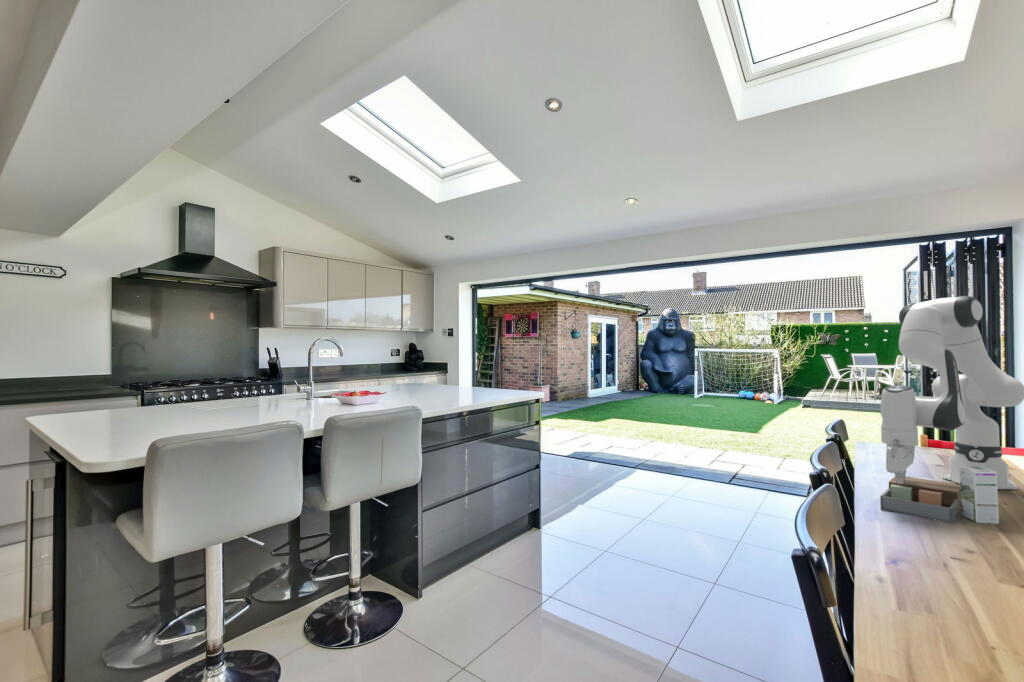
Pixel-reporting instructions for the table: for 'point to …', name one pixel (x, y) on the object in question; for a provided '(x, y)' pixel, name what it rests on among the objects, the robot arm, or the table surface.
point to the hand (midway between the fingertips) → (900, 482)
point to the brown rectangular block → (932, 489)
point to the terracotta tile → (930, 497)
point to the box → (919, 508)
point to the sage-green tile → (901, 492)
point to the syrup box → (979, 494)
